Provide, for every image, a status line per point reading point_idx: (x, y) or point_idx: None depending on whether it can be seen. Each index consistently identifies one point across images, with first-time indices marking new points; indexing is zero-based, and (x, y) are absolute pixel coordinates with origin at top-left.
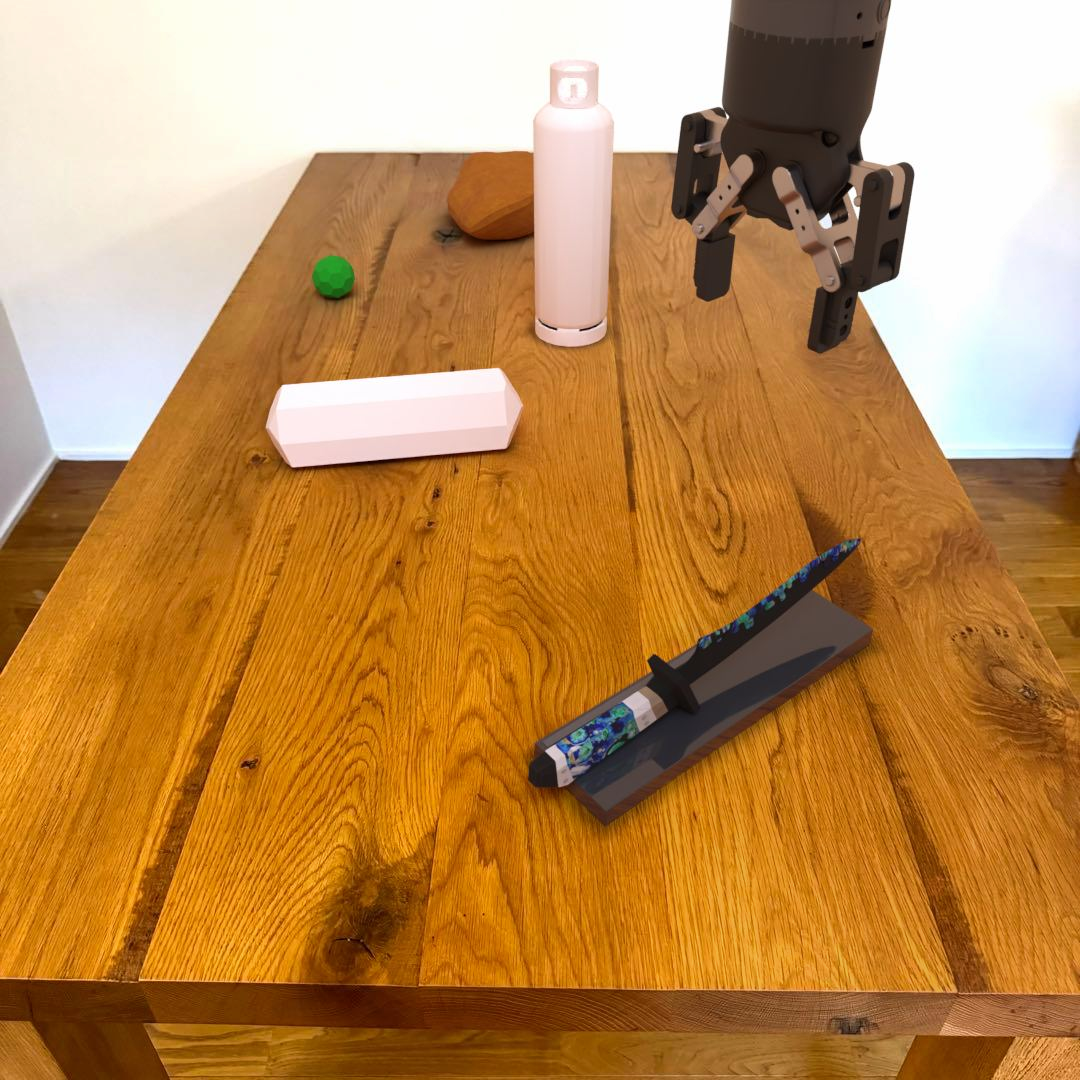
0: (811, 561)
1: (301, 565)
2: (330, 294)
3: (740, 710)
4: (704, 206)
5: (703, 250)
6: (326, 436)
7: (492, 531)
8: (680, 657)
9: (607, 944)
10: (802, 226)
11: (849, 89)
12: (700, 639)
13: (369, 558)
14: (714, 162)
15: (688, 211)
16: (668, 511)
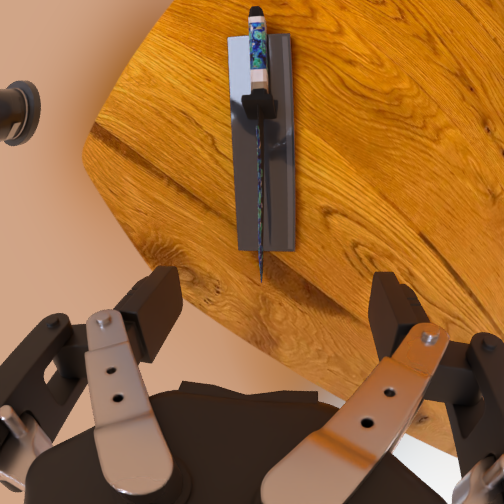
0: (259, 236)
1: (494, 52)
2: None
3: (237, 139)
4: (449, 380)
5: (406, 314)
6: None
7: (462, 151)
8: (291, 142)
9: (181, 12)
10: (114, 373)
11: None
12: (256, 127)
13: (482, 81)
14: (468, 459)
15: (469, 352)
16: (403, 250)
